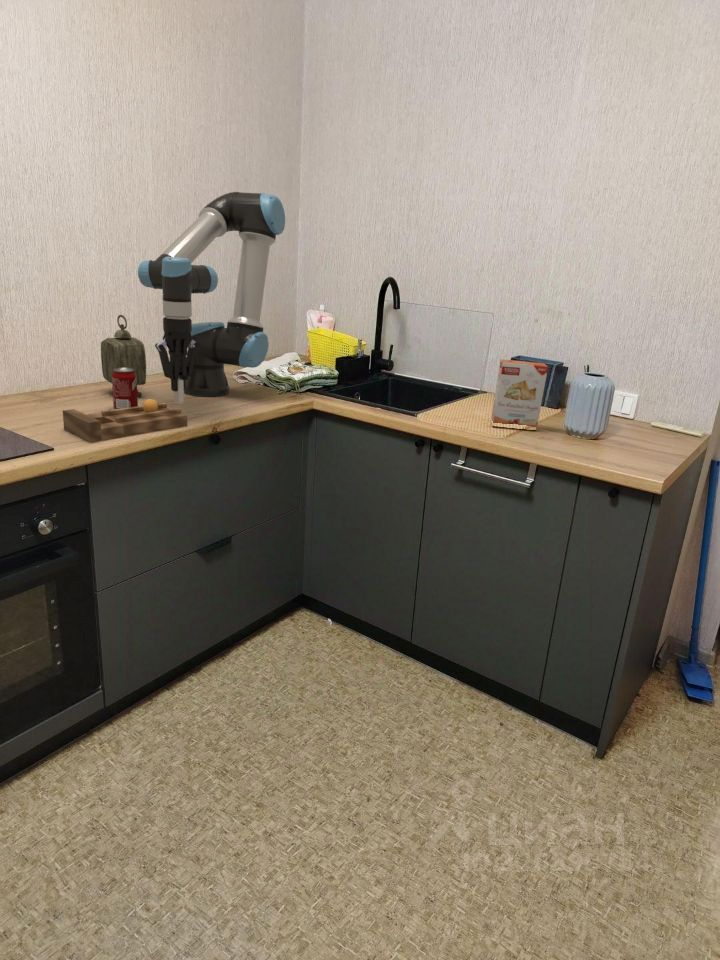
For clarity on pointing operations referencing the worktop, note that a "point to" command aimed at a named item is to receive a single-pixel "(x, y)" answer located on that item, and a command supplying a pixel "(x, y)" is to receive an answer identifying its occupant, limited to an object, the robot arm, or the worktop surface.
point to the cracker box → (519, 392)
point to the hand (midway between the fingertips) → (178, 402)
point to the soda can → (124, 388)
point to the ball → (150, 405)
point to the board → (122, 422)
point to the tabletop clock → (123, 355)
